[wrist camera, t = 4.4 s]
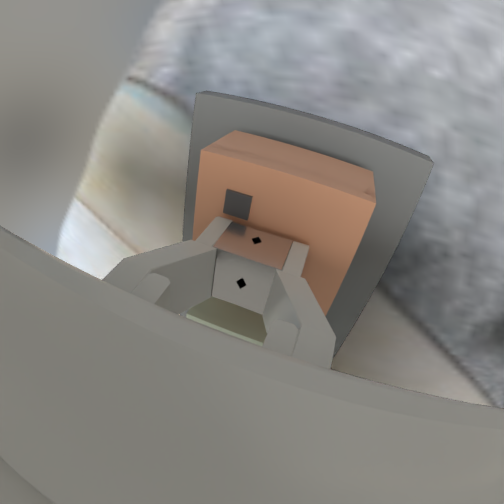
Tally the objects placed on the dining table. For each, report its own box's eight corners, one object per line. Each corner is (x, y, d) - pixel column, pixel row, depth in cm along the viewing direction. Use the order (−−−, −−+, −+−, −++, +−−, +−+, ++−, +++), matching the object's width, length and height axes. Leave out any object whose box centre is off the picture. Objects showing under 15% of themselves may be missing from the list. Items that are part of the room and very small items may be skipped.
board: (206, 90, 13) (177, 97, 11) (429, 156, 11) (442, 176, 9) (185, 361, 25) (172, 384, 23) (297, 403, 24) (289, 428, 22)
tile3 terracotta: (235, 129, 11) (199, 150, 9) (372, 171, 10) (376, 204, 8) (217, 242, 14) (188, 281, 12) (329, 280, 13) (319, 329, 11)
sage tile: (212, 274, 15) (185, 314, 13) (316, 311, 14) (304, 359, 12) (205, 338, 18) (184, 375, 16) (287, 369, 17) (274, 410, 15)
